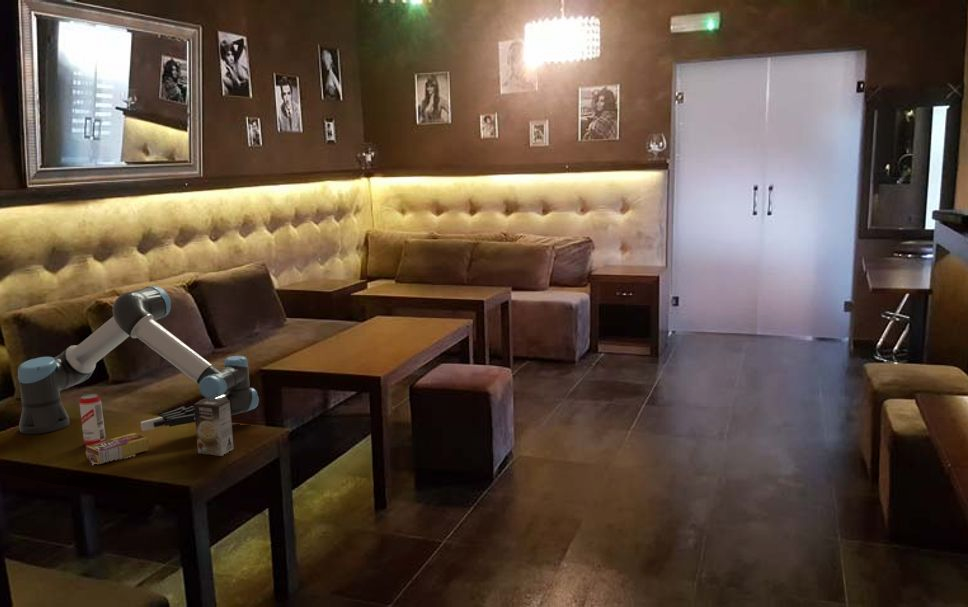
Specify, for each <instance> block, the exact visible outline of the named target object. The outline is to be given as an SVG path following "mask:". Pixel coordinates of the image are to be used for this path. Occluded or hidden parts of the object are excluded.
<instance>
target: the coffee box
mask: <svg viewBox="0 0 968 607" xmlns="http://www.w3.org/2000/svg"><path fill="white" fill-rule="evenodd" d="M200 400H201V401H200ZM200 400H198V401H197V402H195V403H193V406H194V412H195V422H194V423H195V432H196V442H197V444H196V445H197V453H198V454H201V453H202V454H203V455H209V454H210V456H211V455H212V456H219V457H223V456H224V454H225V455H226V454H227V453H230V452H231V451H233V450H234V439H233V438H234V437H233V425H232V415H231V410H230V400H222V399H212V398H206V397H204V398H203V400H202V399H200ZM229 451H230V452H229Z"/></svg>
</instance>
